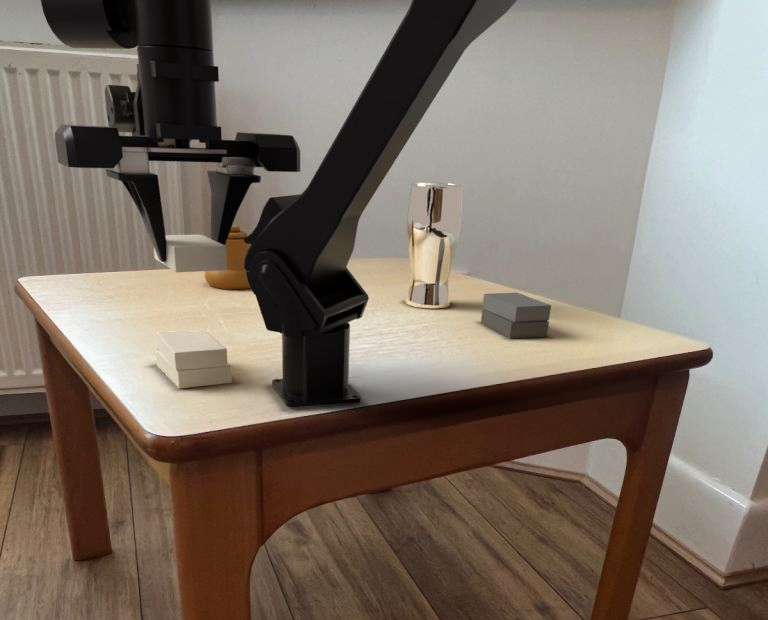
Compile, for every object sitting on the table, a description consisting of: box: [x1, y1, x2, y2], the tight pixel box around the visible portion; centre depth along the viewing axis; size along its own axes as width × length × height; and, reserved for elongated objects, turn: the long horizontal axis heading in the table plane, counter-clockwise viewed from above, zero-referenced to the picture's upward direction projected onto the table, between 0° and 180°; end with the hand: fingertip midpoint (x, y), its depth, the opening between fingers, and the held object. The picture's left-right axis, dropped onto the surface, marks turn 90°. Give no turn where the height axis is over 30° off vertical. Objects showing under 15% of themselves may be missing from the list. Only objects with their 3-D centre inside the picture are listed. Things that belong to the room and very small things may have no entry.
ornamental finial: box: [204, 224, 251, 290], centre depth 104 cm, size 8×8×8 cm
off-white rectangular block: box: [153, 233, 227, 273], centre depth 65 cm, size 7×4×2 cm, turn 29°
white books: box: [154, 328, 233, 390], centre depth 68 cm, size 8×5×3 cm, turn 30°
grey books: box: [480, 292, 552, 339], centre depth 90 cm, size 8×5×4 cm
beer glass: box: [405, 181, 464, 310], centre depth 98 cm, size 7×7×15 cm
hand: (190, 260), depth 65 cm, fingers closed on off-white rectangular block, 4 cm apart
